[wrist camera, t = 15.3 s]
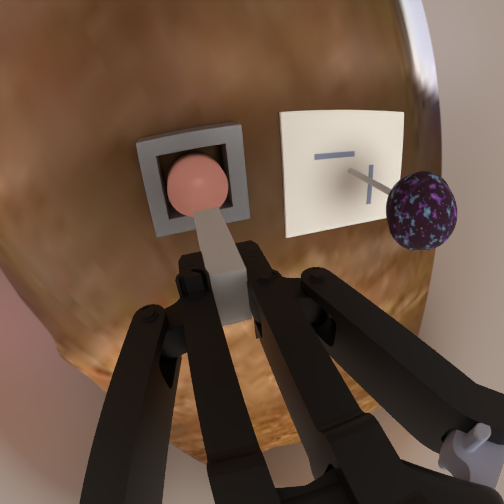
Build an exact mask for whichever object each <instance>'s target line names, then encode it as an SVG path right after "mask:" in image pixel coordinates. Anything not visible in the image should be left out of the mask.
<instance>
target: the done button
mask: <svg viewBox="0 0 504 504" xmlns="http://www.w3.org/2000/svg"><path fill="white" fill-rule="evenodd" d="M167 192H168V198H169V200H170V202H171V204H172V206H173V207H174V208H175V209H176V210H177V211H178V212H180V213H181V214H183V215H186V216H189V217H194V215H193V212H196V211H201V210H206V209H211V208H216V207H219V208H220V207H221V205H222V204H223V203H224V201H225V199H226V197H227V193H228V180H227V177H226V175H225V173H224V171H223V170H222V169H221V167H220V166H219V164H218V163H217V161H216V160H215V159H214V158H212V157H211V156H209V155H207V154H204V153H200V152H192V153H188V154H185V155H183V156H181V157H180V158H178V159H177V160H176V161H175V162H174V163H173V164H172V166H171V168H170V170H169V173H168V181H167Z"/></svg>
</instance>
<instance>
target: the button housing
mask: <svg viewBox="0 0 504 504" xmlns="http://www.w3.org/2000/svg"><path fill="white" fill-rule="evenodd" d="M219 144H221V149H222V158H223V166H224V173H225V175H226V177H227V180H228V193H227V197H226V199H225V201H224V203H223V204H222V205H221V207H220V208H219V209H220V212H221V214H222V216H223V218H224V221H225V223H230V222H235V221H240V220H245V219H250V210H249V200H248V189H247V179H246V168H245V158H244V147H243V137H242V126H241V124H239V123H237V122H235V121H233V122H225V123H218V124H211V125H205V126H199V127H193V128H187V129H182V130H176V131H171V132H166V133H161V134H156V135H152V136H147V137H143V138H139V139H138V141H137V142H136V147H137V153H138V158H139V163H140V168H141V173H142V177H143V182H144V186H145V191H146V195H147V200H148V204H149V208H150V212H151V216H152V221H153V225H154V228H155V232H156V236H157V237H161V236H166V235H171V234H175V233H180V232H185V231H190V230H195V229H196V226H195V221H194V217H189V216H186V215H183V214H181V213H180V212H178V211H177V210H176V209H175V208H174V207H170V208H169V206H168V202H167V197H166V192H165V187H164V182H163V177H162V172H161V166H160V161H159V155H164V154H169V153H174V152H179V151H184V150H189V149H195V148H201V147H207V146H213V145H219Z"/></svg>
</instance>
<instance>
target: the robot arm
mask: <svg viewBox="0 0 504 504" xmlns="http://www.w3.org/2000/svg"><path fill="white" fill-rule="evenodd" d="M193 215H194V221H195V226H196V231H197V236H198V241H199V246H200V252H195V253H191V254H186V255H182V256H181V258H180V260H179V261H178V264H179V274H178V275H177V276H176V280H175V281H176V285H177V288H178V292H179V295H180V299H179V300H178V301H177V302H176V303H175V304H173V305H171V306H170V307H167V308H165V309H163V307H161V306H159V305H155V304H151V305H146V306H144V307H142V308H140V309H139V310H138V311H136V313H135V315H134V316H133V319H132V321H131V324H130V327H129V329H128V332H127V335H126V338H125V340H124V343H123V346H122V349H121V352H120V355H119V358H118V360H117V363H116V366H115V369H114V372H113V375H112V379H111V382H110V385H109V388H108V391H107V394H106V398H105V401H104V404H103V408H102V411H101V415H100V418H99V422H98V425H97V429H96V433H95V436H94V440H93V445H92V448H91V452H90V456H89V461H88V465H87V470H86V474H85V478H84V483H83V488H82V493H81V498H80V504H162V498H163V488H164V479H165V469H166V461H167V453H168V444H169V437H170V430H171V423H172V416H173V409H174V402H175V396H176V390H177V383H178V377H179V371H180V365H181V359H182V357H181V355H182V354H184V353H186V352H187V353H188V360H189V366H190V372H191V378H192V384H193V390H194V395H195V401H196V406H197V411H198V417H199V422H200V427H201V431H202V436H203V441H204V445H205V450H206V454H207V473H208V477H209V482H210V485H211V489H212V493H213V497H214V501H215V504H504V502H503V499H502V497H501V496H500V494H499V493H498V492H497V491H496V490H495V487H496V484H497V482H498V479H499V476H500V473H501V469H502V466H503V463H504V394H502V393H499V392H497V391H494V390H492V389H488V388H486V387H484V386H481V385H478V384H476V383H475V382H473V381H472V380H471V379H470V378H469V377H467V376H466V375H465V374H464V373H462V372H461V371H460V370H459V369H457V368H456V367H455V366H454V365H452V364H451V363H450V362H449V361H447V360H446V359H445V358H444V357H442V356H441V355H440V354H439V353H437V352H436V351H435V350H434V349H432V348H431V347H430V346H428V345H427V344H426V343H425V342H423V341H422V340H421V339H420V338H418V337H417V336H416V335H414V334H413V333H412V332H410V331H409V330H408V329H407V328H405V327H404V326H403V325H401V324H400V323H399V322H397V321H396V320H395V319H393V318H392V317H391V316H390V315H388V314H387V313H386V312H384V311H383V310H382V309H380V308H379V307H378V306H376V305H375V304H374V303H372V302H371V301H370V300H368V299H367V298H366V297H364V296H363V295H362V294H360V293H359V292H357V291H356V290H355V289H353V288H352V287H351V286H349V285H348V284H347V283H345V282H344V281H343V280H341V279H340V278H338V277H337V276H336V275H334V274H333V273H332V272H330V271H329V270H327V269H325V268H320V267H312V268H308V269H306V270H305V271H303V272H302V274H301V278H285V277H282V276H281V274H280V273H279V272H278V271H276V270H273V269H272V268H271V266H270V265H269V263H268V261H267V260H266V258H265V256H264V255H263V253H262V251H261V249H260V248H259V246H258V244H256V243H255V242H253V241H251V240H250V241H245V242H240V243H234V241H233V238H232V236H231V234H230V232H229V229H228V227H227V225H226V223H225V221H224V218H223V216H222V214H221V212H220V209H219V207H216V208H211V209H206V210H201V211H196V212H193ZM251 312H252V315H253V317H254V324H255V333H256V339H257V338H259V339H260V341H261V344H262V346H263V349H264V351H265V354H266V356H267V359H268V361H269V364H270V366H271V369H272V371H273V374H274V376H275V379H276V381H277V384H278V386H279V389H280V391H281V394H282V396H283V398H284V401H285V403H286V406H287V408H288V411H289V413H290V415H291V418H292V420H293V423H294V425H295V427H296V430H297V432H298V434H299V437H300V439H301V441H302V444H303V446H304V448H305V451H306V453H307V455H308V458H309V461H310V466H311V470H312V473H313V476H314V479H315V480H314V481H313V482H311V483H310V484H308V485H305V486H298V487H285V488H275V487H274V484H273V481H272V478H271V476H270V473H269V470H268V467H267V464H266V462H265V459H264V456H263V454H262V452H261V450H260V447H259V444H258V441H257V438H256V435H255V433H254V429H253V426H252V423H251V420H250V417H249V414H248V411H247V408H246V405H245V402H244V398H243V395H242V392H241V389H240V386H239V382H238V379H237V376H236V372H235V369H234V366H233V362H232V359H231V356H230V352H229V349H228V345H227V342H226V338H225V335H224V331H223V328H222V326H224V325H228V324H232V323H237V322H241V321H245V320H249V319H252V315H251ZM329 355H330V356H331V357H332V358H333V359H334V360H335V361H336V362H337V363H338V364H339V365H340V366H341V367H342V368H343V369H344V370H345V371H346V372H347V373H348V374H349V375H350V376H351V377H352V378H353V379H354V380H355V381H356V382H357V383H358V384H359V385H360V386H361V387H362V388H363V389H364V390H365V391H366V392H367V393H368V394H369V395H370V396H372V397H373V398H374V399H375V400H376V401H377V402H378V403H379V404H380V405H381V406H382V407H383V408H384V409H385V410H386V411H387V412H388V413H389V414H390V415H391V416H392V417H393V418H394V419H395V420H396V421H397V422H399V423H400V424H401V425H402V426H403V427H404V428H405V429H406V430H407V431H408V432H409V433H410V434H411V435H413V437H415V438H416V439H417V440H418V441H419V442H420V443H422V444H423V445H425V446H426V447H428V448H429V449H431V450H432V451H434V452H437V453H439V454H440V455H439V457H440V458H439V461H438V464H439V467H440V468H441V469H443V470H448V471H449V472H450V473H451V474H452V475H453V477H452V476H448V475H445V474H442V473H439V472H436V471H433V470H430V469H427V468H424V467H421V466H418V465H415V464H413V463H410V462H407V461H404V460H402V459H400V458H399V456H398V454H397V453H396V451H395V449H394V448H393V446H392V444H391V442H390V441H389V439H388V437H387V436H386V434H385V432H384V431H383V429H382V427H381V426H380V424H379V422H378V421H377V420H376V418H375V417H374V416H373V415H371V414H370V413H364V412H363V411H362V410H361V409H360V407H359V406H358V404H357V402H356V400H355V399H354V397H353V395H352V394H351V392H350V390H349V388H348V387H347V385H346V383H345V382H344V380H343V378H342V376H341V375H340V373H339V371H338V370H337V368H336V366H335V364H334V363H333V361H332V359H331V358H330V356H329Z"/></svg>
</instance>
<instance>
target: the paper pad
mask: <svg viewBox="0 0 504 504" xmlns="http://www.w3.org/2000/svg"><path fill="white" fill-rule="evenodd" d="M279 120H280V136H281V153H282V172H283V194H284V220H285V237H286V238H289V237H294V236H299V235H304V234H309V233H314V232H318V231H323V230H328V229H333V228H338V227H343V226H348V225H353V224H358V223H363V222H368V221H373V220H378V219H383V218H387V217H386V203H387V198H388V195H387V194H385V193H384V192H382V191H380V190H378V189H377V188H375V187H373V186H372V185H370V184H368V183H366V182H364V181H363V180H361V179H359V178H357V177H355V176H353V175H352V174H350V173H348V169H349V168H352V169H354V170H356V171H358V172H360V173H362V174H364V175H366V176H368V177H370V178H372V179H373V180H375V181H377V182H379V183H381V184H383V185H385V186H386V187H388V188H390V189H392V188H393V186H394V185H395V184H396V183H397V182H398V181H399V180H400V174H401V162H402V148H403V127H404V112H395V111H377V110H305V111H286V112H279Z"/></svg>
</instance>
